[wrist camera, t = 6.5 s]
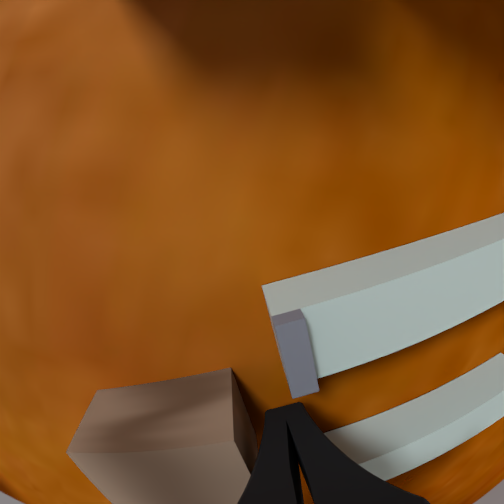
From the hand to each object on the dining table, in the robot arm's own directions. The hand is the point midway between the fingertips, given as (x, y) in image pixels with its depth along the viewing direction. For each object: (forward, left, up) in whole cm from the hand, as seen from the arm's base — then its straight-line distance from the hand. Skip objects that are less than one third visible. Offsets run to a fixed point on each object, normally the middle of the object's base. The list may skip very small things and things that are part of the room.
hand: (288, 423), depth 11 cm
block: (+5, 0, -2) cm, 5 cm away
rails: (-6, 0, -1) cm, 7 cm away
